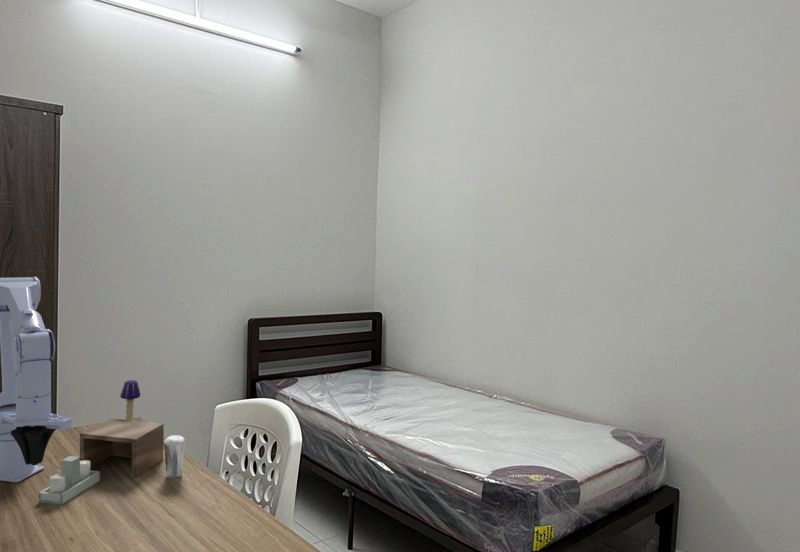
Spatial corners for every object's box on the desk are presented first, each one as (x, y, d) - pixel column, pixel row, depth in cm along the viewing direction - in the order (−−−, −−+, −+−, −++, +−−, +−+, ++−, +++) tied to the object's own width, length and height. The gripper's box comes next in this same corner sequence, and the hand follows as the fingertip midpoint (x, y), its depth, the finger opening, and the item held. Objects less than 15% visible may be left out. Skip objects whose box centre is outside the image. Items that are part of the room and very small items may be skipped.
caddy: (38, 502, 117) (38, 468, 117) (79, 477, 129) (79, 447, 128) (60, 505, 116) (60, 471, 116) (100, 480, 128) (100, 449, 128)
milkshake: (180, 481, 129) (181, 437, 129) (159, 478, 130) (159, 435, 130) (192, 473, 134) (192, 430, 133) (171, 470, 135) (171, 428, 134)
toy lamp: (133, 440, 152) (134, 378, 151) (143, 444, 150) (144, 381, 148) (115, 445, 149) (116, 381, 147) (125, 449, 146) (126, 384, 145)
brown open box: (79, 470, 133) (79, 433, 132) (111, 453, 143) (111, 418, 143) (135, 477, 130) (136, 439, 130) (163, 458, 141) (163, 423, 141)
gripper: (-18, 396, 108) (-17, 467, 110) (51, 403, 106) (51, 475, 107) (13, 387, 115) (13, 453, 116) (78, 393, 113) (78, 460, 114)
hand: (34, 463), depth 112 cm, fingers closed
